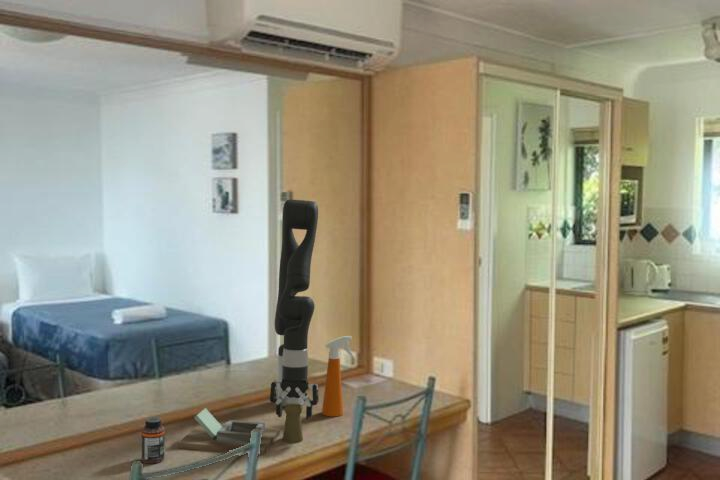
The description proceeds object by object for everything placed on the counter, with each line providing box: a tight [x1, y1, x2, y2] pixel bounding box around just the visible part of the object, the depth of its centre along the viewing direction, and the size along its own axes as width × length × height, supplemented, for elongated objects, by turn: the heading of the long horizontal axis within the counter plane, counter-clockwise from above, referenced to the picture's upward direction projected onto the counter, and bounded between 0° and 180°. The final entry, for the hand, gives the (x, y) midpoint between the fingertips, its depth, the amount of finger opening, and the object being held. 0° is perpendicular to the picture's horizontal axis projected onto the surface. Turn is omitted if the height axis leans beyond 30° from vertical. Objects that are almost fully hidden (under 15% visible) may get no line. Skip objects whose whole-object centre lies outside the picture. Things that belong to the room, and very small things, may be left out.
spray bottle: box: [321, 335, 357, 418], centre depth 235 cm, size 7×11×26 cm, turn 94°
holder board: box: [177, 419, 281, 456], centre depth 208 cm, size 18×25×4 cm
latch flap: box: [193, 407, 222, 439], centre depth 207 cm, size 7×8×1 cm
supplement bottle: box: [141, 416, 166, 464], centre depth 191 cm, size 6×6×11 cm
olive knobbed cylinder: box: [282, 402, 304, 444], centre depth 210 cm, size 6×6×11 cm
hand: (293, 417), depth 210 cm, fingers open, 8 cm apart
